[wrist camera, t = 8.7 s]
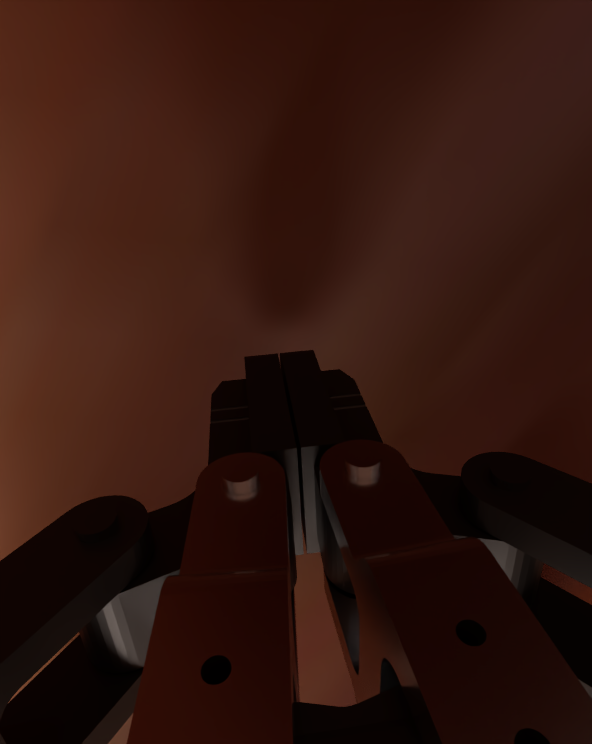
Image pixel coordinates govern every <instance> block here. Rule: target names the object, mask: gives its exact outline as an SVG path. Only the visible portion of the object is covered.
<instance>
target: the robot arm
mask: <svg viewBox="0 0 592 744" xmlns="http://www.w3.org/2000/svg"><path fill="white" fill-rule="evenodd" d="M280 365H281V368H280ZM245 371H246V379H241V380H231V381H222V382H221V384H220V385H219V386H218V387H217V389H216V390H215V391H214V392H213V394H212V398H211V419H210V421H211V424H210V439H209V459H208V466H207V467H206V468H205V469H204V470H203V471H202V472H201V474H200V475H199V477H198V480H197V484H196V489H195V491H194V492H193V493H192V494H191V495H189V496H188V497H186V498H184V499H183V500H181V501H179V502H177V503H174V504H172V505H169V506H167V507H164V508H161V509H158V510H155V511H152V512H150V513H147V510H146V509H145V507H144V506H143V505H142V504H141V503H140V502H139V501H137V500H135V499H133V498H130V497H126V496H115V495H114V496H104V497H99V498H95V499H92V500H89V501H86V502H84V503H81V504H80V505H78V506H76V507H74V508H72V509H71V510H69V511H68V512H66V513H65V514H64V515H62V516H61V517H59V518H58V519H57V520H55V521H54V522H53V523H51V524H50V525H49V526H47V527H46V528H45V529H43V530H42V531H40V532H39V533H38V534H36V535H35V536H34V537H32V538H31V539H30V540H28V541H27V542H26V543H24V544H23V545H21V546H20V547H19V548H17V549H16V550H15V551H13V552H12V553H11V554H9V555H8V556H7V557H5V558H4V559H2V560H1V561H0V744H108V743H109V742H110V741H111V739H112V738H113V737H114V736H115V735H116V733H117V732H118V731H119V730H120V728H121V727H122V726H123V725H124V724H125V722H126V721H127V720H128V719H129V718H130V716H131V715H132V714H133V717H132V721H131V726H130V730H129V735H128V739H127V744H592V605H591V604H589V603H587V602H585V601H583V600H581V599H580V598H578V597H576V596H574V595H572V594H571V593H569V592H567V591H565V590H563V589H561V588H560V587H558V586H556V585H554V584H552V583H550V582H549V581H547V580H545V579H543V578H541V573H542V569H543V564H544V563H545V564H547V565H549V566H551V567H553V568H554V569H556V570H558V571H560V572H562V573H564V574H566V575H568V576H570V577H572V578H573V579H575V580H577V581H579V582H581V583H583V584H585V585H587V586H589V587H590V588H592V484H591V483H589V482H586V481H584V480H581V479H579V478H576V477H574V476H571V475H569V474H567V473H564V472H562V471H559V470H557V469H554V468H552V467H549V466H547V465H545V464H542V463H540V462H537V461H535V460H532V459H530V458H527V457H524V456H521V455H517V454H513V453H506V452H489V453H483V454H479V455H476V456H474V457H472V458H471V459H469V460H468V461H467V462H466V463H465V464H464V466H463V468H462V472H461V476H452V475H442V474H433V473H426V472H422V471H418V470H415V469H412V468H410V467H409V465H408V463H407V462H406V460H405V459H404V457H403V456H402V455H401V454H400V453H399V452H398V451H397V450H396V449H394V448H393V447H391V446H389V445H387V444H384V443H383V442H382V439H381V437H380V435H379V433H378V431H377V428H376V426H375V424H374V422H373V420H372V418H371V415H370V413H369V411H368V409H367V407H366V406H365V402H364V400H363V398H362V396H361V395H360V391H359V389H358V387H357V385H356V382H355V380H354V379H353V378H351V377H350V376H348V375H347V374H346V373H344V372H343V371H341V370H340V369H338V370H328V371H321V370H320V367H319V364H318V362H317V359H316V356H315V353H314V351H313V350H308V351H298V352H288V353H280V363H279V358H278V354H268V355H258V356H248V357H245ZM301 522H302V523H301ZM302 527H303V533H304V538H305V544H306V550H307V554H308V553H316V552H321V557H322V562H323V568H324V589H325V593H326V597H327V600H328V604H329V607H330V610H331V614H332V617H333V621H334V624H335V627H336V631H337V634H338V638H339V641H340V645H341V648H342V651H343V655H344V658H345V662H346V665H347V668H348V672H349V675H350V679H351V682H352V685H353V689H354V693H355V698H356V703H357V704H355V705H352V706H348V707H336V706H327V705H319V704H310V703H302V702H300V697H299V677H298V656H297V635H296V614H295V594H294V586H295V584H296V579H297V570H296V557H295V555H302V554H303V538H302ZM78 632H79V634H80V635H79V636H78V637H77V638H76V639H74V640H73V641H72V642H71V643H70V644H69V645H68V646H67V647H66V648H65V649H64V650H63V651H62V652H61V653H60V654H59V655H58V656H57V657H56V658H55V659H54V660H53V661H52V662H51V663H50V664H49V665H47V666H46V667H45V668H44V669H43V670H42V671H41V672H40V673H39V674H38V675H37V676H36V677H35V678H34V679H33V680H32V681H31V682H30V683H29V684H28V685H27V686H26V687H25V688H24V689H23V690H22V691H20V692H19V693H18V694H17V695H16V696H15V697H14V698H13V699H12V700H11V701H10V699H11V698H12V697H13V695H14V694H15V693H16V692H17V691H18V690H19V688H20V687H21V686H22V685H23V684H25V683H26V682H27V681H28V680H29V679H30V678H31V677H32V676H33V675H34V674H35V673H36V672H37V671H38V670H39V669H40V668H41V667H42V666H43V665H44V664H45V663H47V662H48V661H49V660H50V659H51V658H52V657H53V656H54V655H55V654H56V653H57V652H58V651H59V650H60V649H61V648H62V647H63V646H64V645H65V644H66V643H67V642H68V641H70V640H71V639H72V638H73V637H74V636H75V635H76V634H77V633H78ZM9 701H10V702H9ZM8 702H9V703H8Z"/></svg>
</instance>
